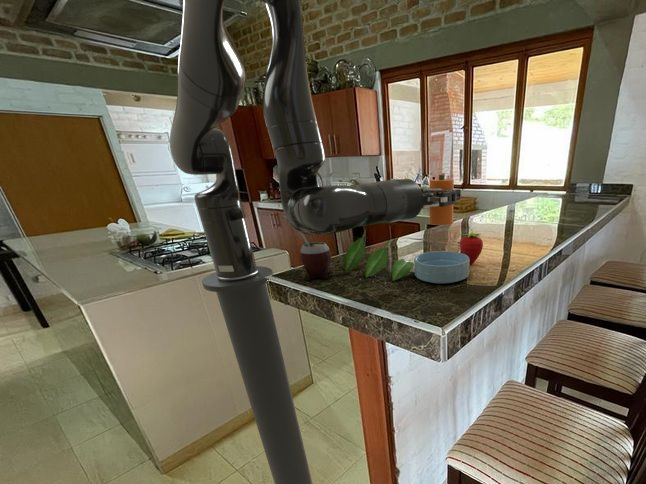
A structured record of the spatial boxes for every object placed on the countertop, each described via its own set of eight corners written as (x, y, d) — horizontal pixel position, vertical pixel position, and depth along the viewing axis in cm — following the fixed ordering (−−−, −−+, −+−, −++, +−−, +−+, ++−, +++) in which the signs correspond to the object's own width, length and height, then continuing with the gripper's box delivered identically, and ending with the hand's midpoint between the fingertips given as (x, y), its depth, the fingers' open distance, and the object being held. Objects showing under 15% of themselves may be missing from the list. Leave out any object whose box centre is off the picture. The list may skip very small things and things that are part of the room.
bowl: (403, 278, 80) (403, 260, 78) (435, 265, 89) (435, 248, 87) (448, 289, 73) (449, 269, 71) (478, 273, 82) (479, 256, 80)
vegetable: (425, 223, 75) (424, 175, 71) (438, 220, 79) (438, 174, 74) (444, 225, 72) (444, 175, 68) (457, 222, 76) (458, 174, 71)
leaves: (400, 300, 83) (422, 262, 89) (400, 286, 77) (423, 246, 83) (337, 272, 86) (362, 237, 91) (333, 257, 80) (359, 221, 85)
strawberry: (461, 269, 86) (462, 230, 81) (457, 261, 92) (458, 224, 88) (484, 268, 86) (486, 229, 81) (478, 260, 92) (481, 223, 88)
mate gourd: (339, 275, 83) (331, 213, 77) (313, 284, 78) (301, 218, 71) (320, 270, 88) (311, 210, 81) (294, 278, 82) (282, 215, 76)
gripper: (419, 181, 57) (476, 176, 68) (367, 179, 66) (425, 175, 77) (420, 225, 61) (474, 213, 72) (370, 218, 70) (425, 208, 81)
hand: (448, 193), depth 74 cm, fingers closed on vegetable, 5 cm apart
